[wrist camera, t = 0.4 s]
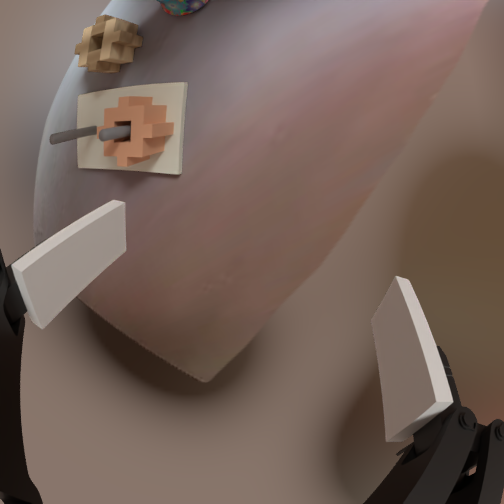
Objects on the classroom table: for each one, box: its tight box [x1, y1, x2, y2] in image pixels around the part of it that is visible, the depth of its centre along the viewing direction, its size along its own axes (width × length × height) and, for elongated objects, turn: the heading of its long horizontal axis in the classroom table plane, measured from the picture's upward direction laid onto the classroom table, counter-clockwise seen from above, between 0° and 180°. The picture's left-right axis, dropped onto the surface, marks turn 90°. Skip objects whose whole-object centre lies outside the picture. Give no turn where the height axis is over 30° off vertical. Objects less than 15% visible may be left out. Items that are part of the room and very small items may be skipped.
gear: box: [75, 15, 143, 73], centre depth 28 cm, size 10×10×6 cm
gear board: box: [50, 82, 188, 175], centre depth 32 cm, size 14×22×11 cm, turn 84°
